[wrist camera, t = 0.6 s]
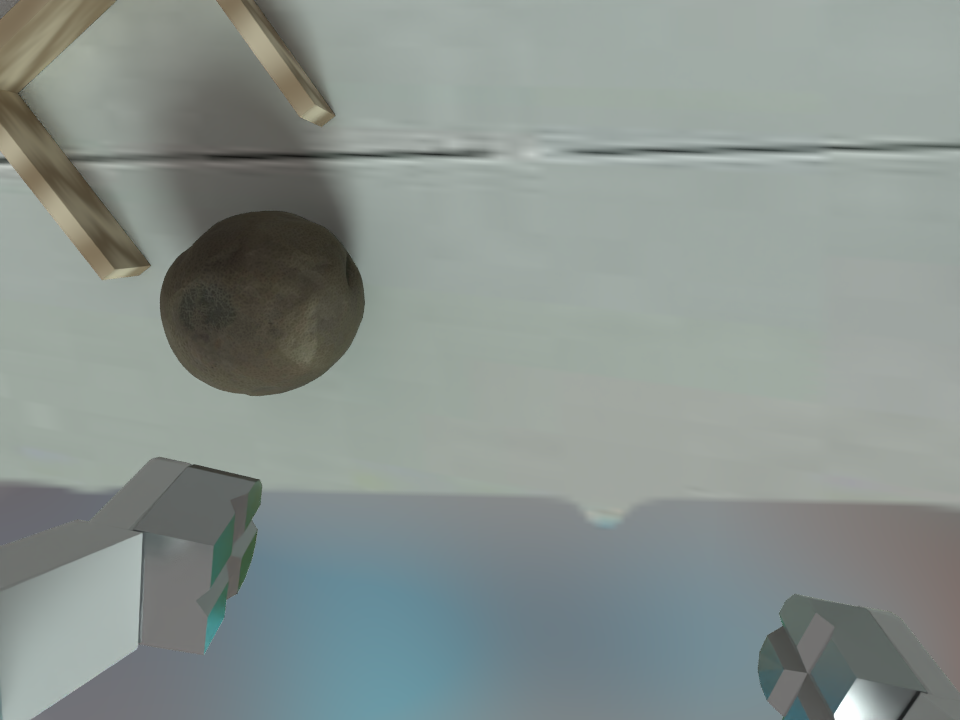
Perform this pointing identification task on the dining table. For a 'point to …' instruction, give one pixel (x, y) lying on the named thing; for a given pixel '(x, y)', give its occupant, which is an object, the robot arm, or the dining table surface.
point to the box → (42, 164)
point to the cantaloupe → (262, 303)
